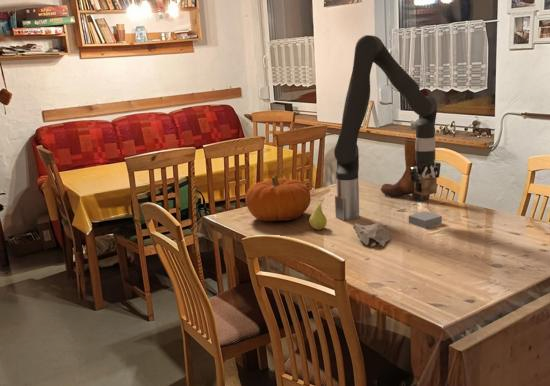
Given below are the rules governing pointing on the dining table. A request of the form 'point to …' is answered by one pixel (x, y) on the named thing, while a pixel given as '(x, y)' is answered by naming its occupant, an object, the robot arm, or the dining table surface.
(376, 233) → the stone
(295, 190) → the pumpkin
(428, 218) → the slate block
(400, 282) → the dining table surface
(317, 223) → the fruit
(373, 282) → the dining table surface
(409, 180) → the boot
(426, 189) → the walnut cube
